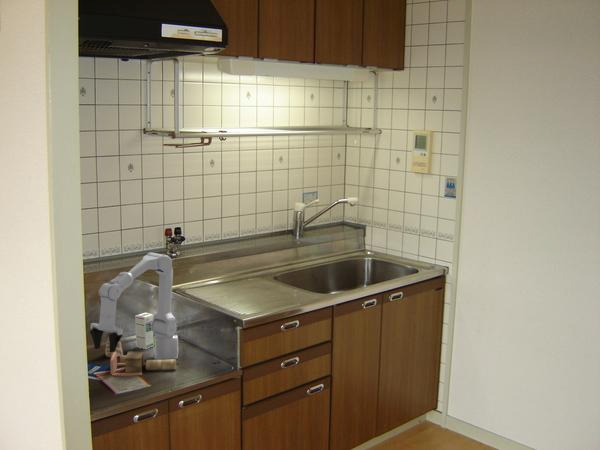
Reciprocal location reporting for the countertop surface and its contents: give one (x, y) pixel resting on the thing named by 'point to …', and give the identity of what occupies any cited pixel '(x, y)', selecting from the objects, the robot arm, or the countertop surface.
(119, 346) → the figurine
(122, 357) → the short dowel
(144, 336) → the syrup box
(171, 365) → the dowel
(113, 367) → the end wall and guide rails
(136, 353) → the block
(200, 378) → the countertop surface
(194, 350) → the countertop surface
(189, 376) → the countertop surface
